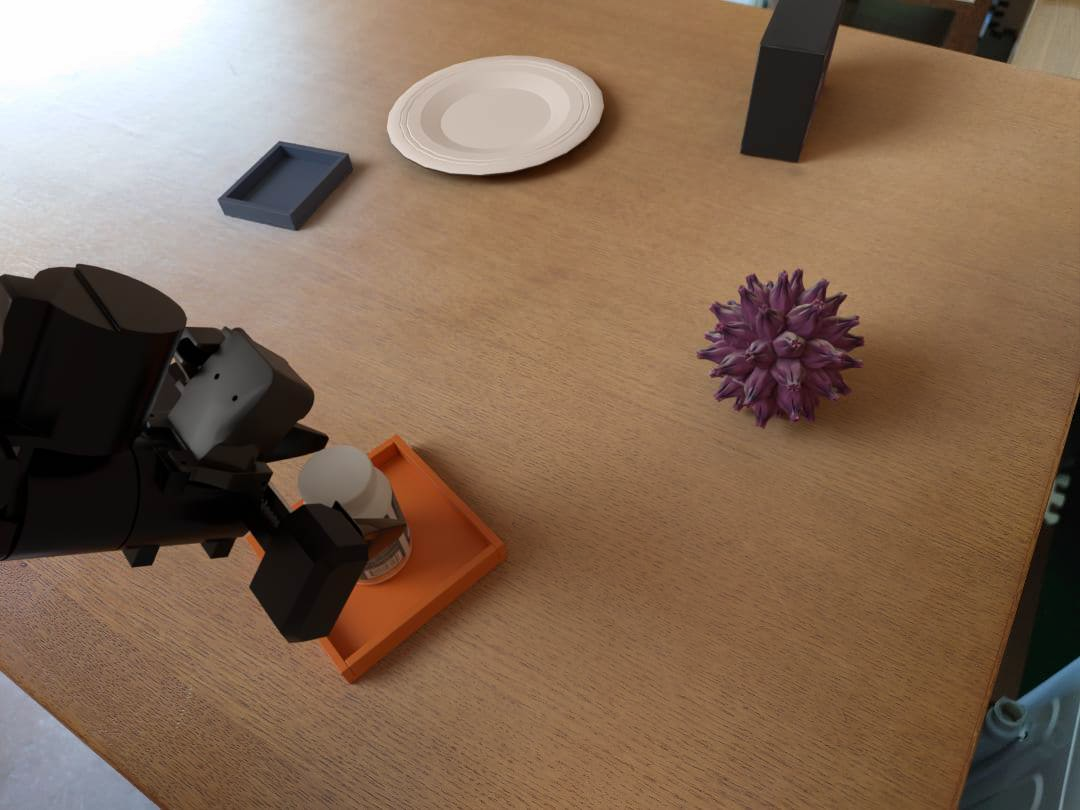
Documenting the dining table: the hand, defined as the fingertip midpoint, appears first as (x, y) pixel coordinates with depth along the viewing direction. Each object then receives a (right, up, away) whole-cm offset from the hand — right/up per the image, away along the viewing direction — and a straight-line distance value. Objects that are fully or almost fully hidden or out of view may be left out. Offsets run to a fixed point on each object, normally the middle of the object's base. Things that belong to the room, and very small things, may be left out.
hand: (362, 483), depth 50 cm
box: (+39, +37, +36) cm, 64 cm away
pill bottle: (0, -6, +6) cm, 8 cm away
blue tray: (-16, +28, +35) cm, 48 cm away
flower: (+30, +6, +12) cm, 32 cm away
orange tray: (0, -6, +6) cm, 8 cm away
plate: (+6, +38, +40) cm, 56 cm away
